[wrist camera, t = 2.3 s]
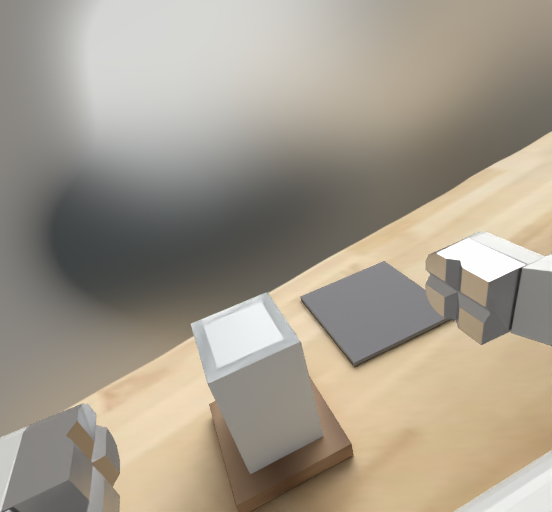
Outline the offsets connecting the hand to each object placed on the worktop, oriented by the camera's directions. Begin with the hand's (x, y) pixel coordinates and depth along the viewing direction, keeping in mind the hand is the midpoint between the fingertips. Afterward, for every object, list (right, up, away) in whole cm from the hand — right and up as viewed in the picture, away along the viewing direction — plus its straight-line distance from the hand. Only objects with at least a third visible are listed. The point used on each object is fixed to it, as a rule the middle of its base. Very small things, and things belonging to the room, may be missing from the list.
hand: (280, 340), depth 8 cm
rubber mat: (+11, -4, +32) cm, 34 cm away
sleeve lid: (0, -11, +21) cm, 24 cm away
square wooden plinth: (0, -13, +22) cm, 25 cm away
